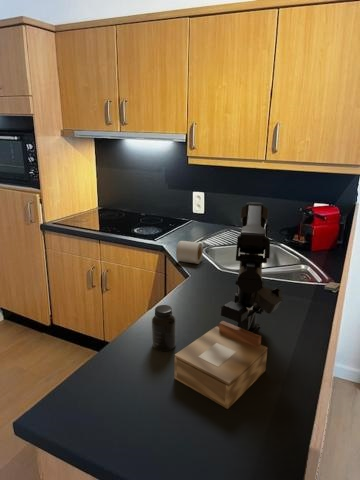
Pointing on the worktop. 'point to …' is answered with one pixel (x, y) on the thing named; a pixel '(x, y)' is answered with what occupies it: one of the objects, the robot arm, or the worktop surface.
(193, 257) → the toilet paper
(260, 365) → the mailer box
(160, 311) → the supplement bottle
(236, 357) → the mailer lid
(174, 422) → the worktop surface
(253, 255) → the robot arm
